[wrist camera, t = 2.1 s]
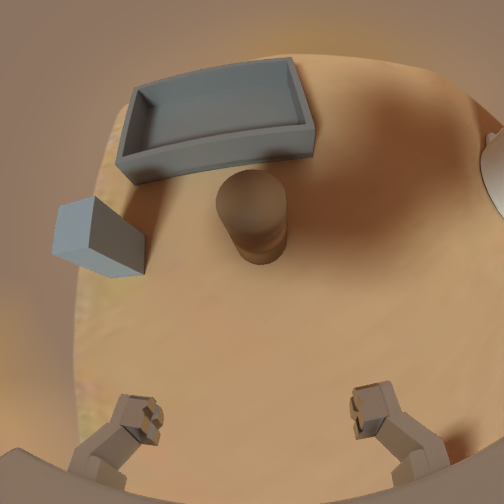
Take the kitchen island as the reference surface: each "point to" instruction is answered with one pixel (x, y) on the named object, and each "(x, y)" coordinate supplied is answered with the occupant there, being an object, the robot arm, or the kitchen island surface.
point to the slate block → (98, 239)
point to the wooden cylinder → (254, 214)
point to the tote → (216, 121)
